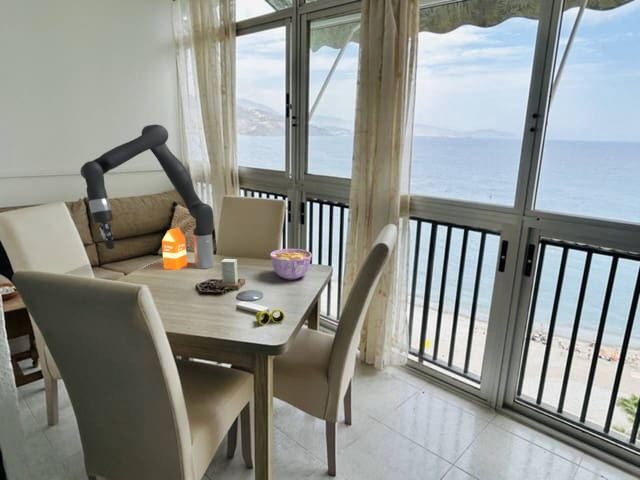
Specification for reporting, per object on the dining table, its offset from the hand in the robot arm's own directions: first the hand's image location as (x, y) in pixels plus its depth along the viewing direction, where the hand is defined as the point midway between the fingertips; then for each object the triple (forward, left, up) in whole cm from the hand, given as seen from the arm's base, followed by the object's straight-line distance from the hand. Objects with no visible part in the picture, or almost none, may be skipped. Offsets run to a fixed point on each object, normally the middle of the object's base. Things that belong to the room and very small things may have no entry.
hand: (110, 248), depth 166 cm
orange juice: (-37, +8, -19) cm, 42 cm away
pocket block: (-17, +46, -19) cm, 52 cm away
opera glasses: (+15, +74, -19) cm, 78 cm away
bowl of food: (-35, +70, -19) cm, 80 cm away
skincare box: (-17, +46, -19) cm, 52 cm away
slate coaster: (-7, +59, -19) cm, 62 cm away
